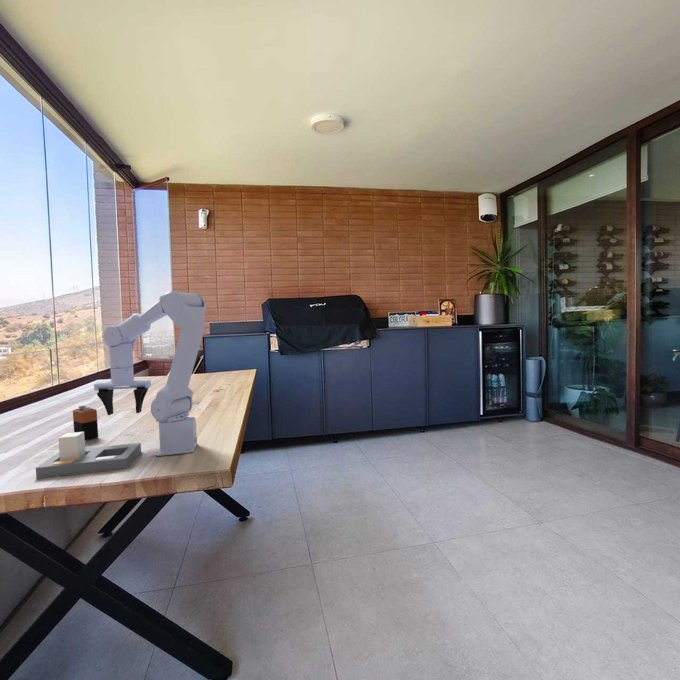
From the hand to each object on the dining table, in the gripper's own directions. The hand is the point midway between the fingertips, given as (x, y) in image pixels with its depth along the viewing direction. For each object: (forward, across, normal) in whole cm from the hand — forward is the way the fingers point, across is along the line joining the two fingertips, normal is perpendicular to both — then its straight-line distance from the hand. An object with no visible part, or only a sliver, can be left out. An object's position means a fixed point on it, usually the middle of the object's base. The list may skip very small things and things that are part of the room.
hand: (124, 413), depth 106 cm
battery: (+10, -16, +11) cm, 21 cm away
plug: (+9, -7, -14) cm, 18 cm away
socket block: (+9, -3, -14) cm, 17 cm away
